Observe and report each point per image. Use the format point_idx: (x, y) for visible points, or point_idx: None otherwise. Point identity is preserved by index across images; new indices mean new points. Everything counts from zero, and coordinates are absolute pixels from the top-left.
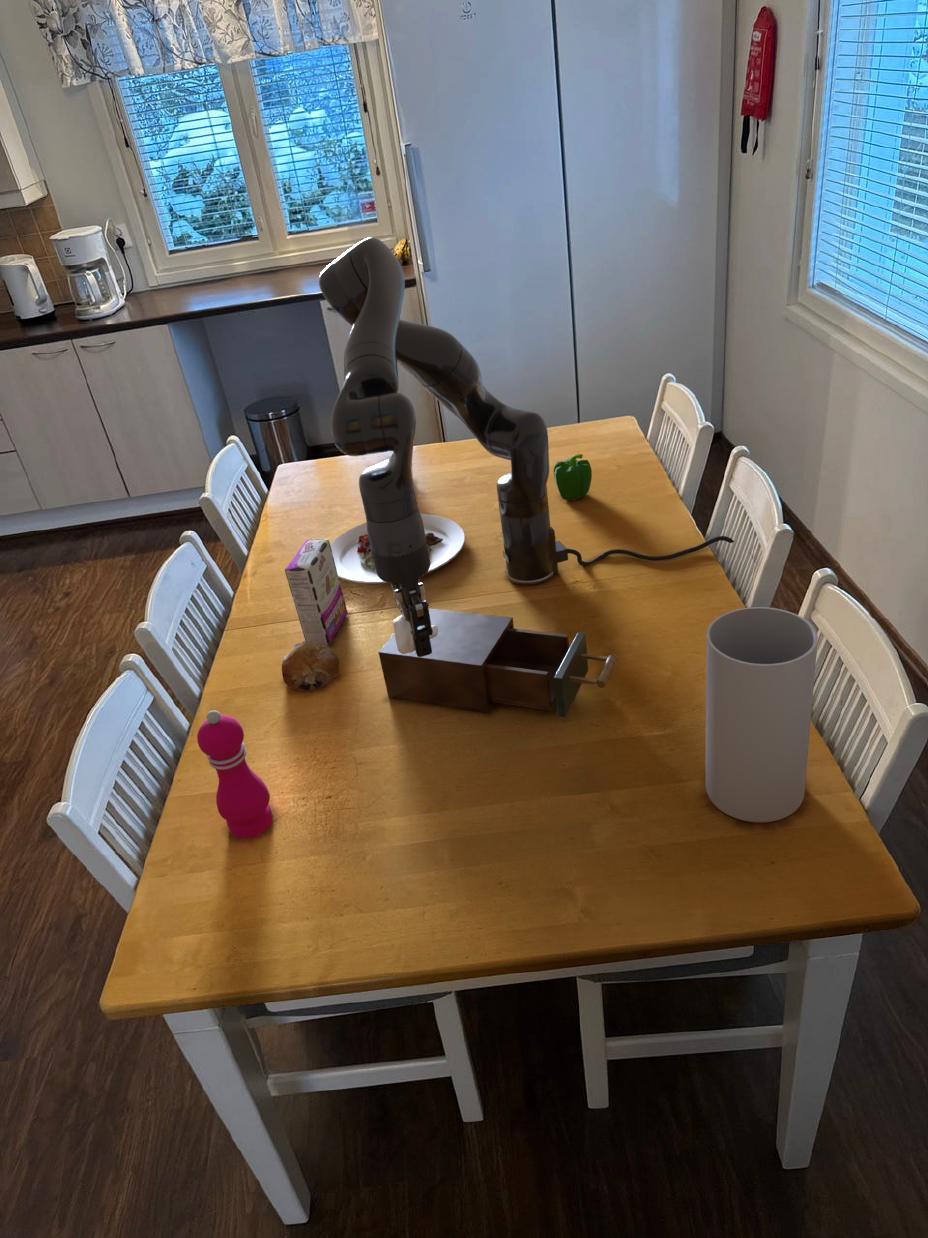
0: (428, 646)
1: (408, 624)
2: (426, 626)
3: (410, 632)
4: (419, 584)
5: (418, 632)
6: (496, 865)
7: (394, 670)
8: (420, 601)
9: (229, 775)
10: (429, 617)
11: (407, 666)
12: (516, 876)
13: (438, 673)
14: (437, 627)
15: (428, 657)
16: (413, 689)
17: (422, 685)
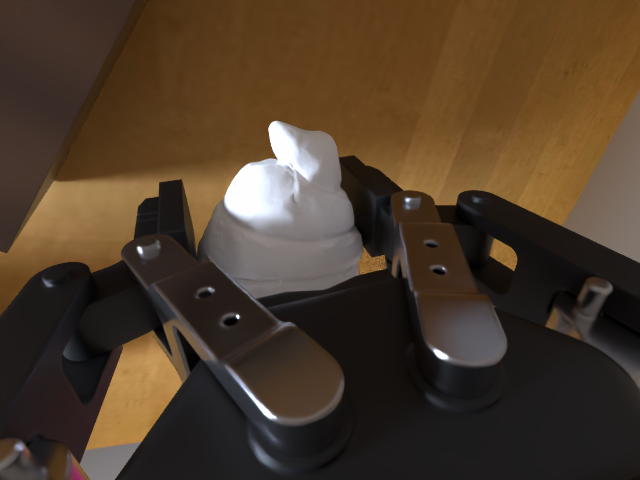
0: (389, 180)
1: (330, 279)
2: (477, 225)
3: (356, 262)
4: (486, 381)
5: (486, 258)
6: (542, 69)
7: (42, 192)
8: (500, 310)
9: None
10: (598, 246)
11: (56, 162)
12: (572, 46)
13: (103, 72)
14: (291, 126)
15: (74, 104)
16: (75, 134)
17: (85, 113)
